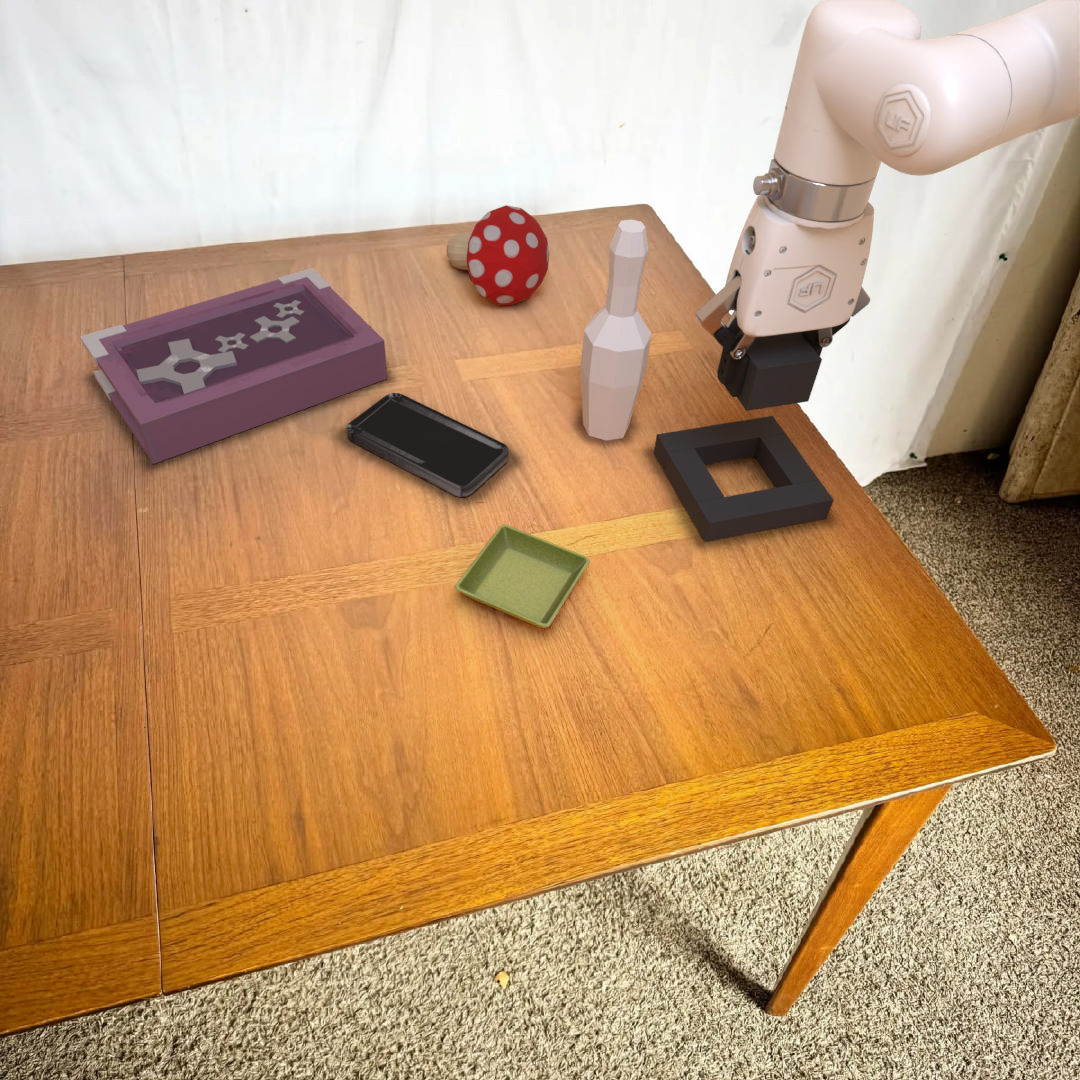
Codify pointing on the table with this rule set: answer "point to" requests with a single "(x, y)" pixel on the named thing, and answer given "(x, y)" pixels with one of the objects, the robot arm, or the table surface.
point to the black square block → (779, 371)
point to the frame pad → (748, 512)
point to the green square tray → (523, 576)
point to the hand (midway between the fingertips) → (763, 380)
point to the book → (234, 362)
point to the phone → (428, 444)
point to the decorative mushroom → (503, 255)
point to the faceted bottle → (616, 340)
